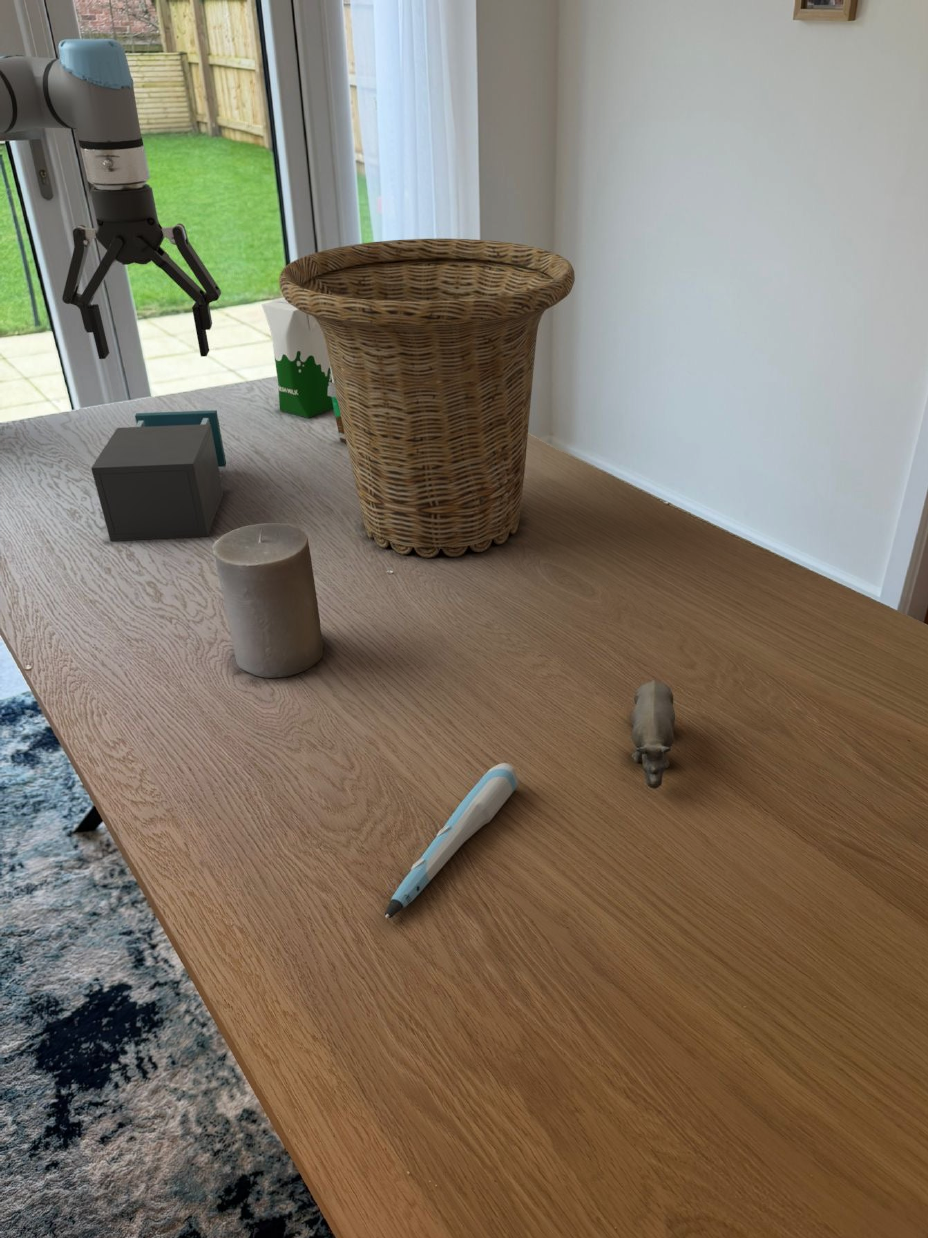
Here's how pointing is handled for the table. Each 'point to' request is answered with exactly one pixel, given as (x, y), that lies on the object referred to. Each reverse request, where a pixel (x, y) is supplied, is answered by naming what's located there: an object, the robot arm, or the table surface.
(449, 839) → the pen
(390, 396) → the wicker basket
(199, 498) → the dark gray box
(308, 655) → the pillar candle
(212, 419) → the tray
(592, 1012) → the table surface
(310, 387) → the milk carton
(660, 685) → the rhino figurine
